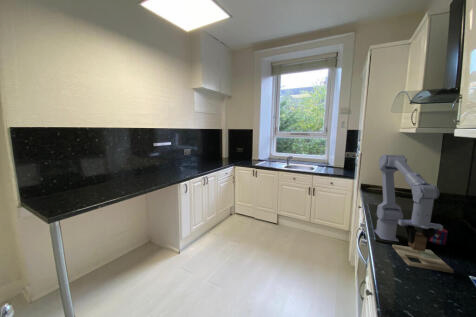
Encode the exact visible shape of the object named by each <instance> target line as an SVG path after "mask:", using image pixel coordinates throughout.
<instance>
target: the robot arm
mask: <svg viewBox="0 0 476 317" xmlns="http://www.w3.org/2000/svg"><path fill="white" fill-rule="evenodd" d="M378 164H379V165H378V167H379V171H380V172H381V184H382V186H381V187H382V202H381V203H380V204H378V205H377V209H376V217H377V218H378V219H377V221H376V228H375V229H374V230H373V231H374V232H375V234H376V235H377V236H378V237H379V238H380V239H381V240H383V241H384V240H385V241H392V242H400V241H399V239H398V238H397V237H396V236H397V229H398V228H397V227H398V225H399V226H401V227H402V226H403V227H404V230H405V232H406V234H407V239H408V242H410V243H413V242H414V236H415V234H416V233H418V232H417V230H416V229H415V228H421V234H423V235H424V236H425V237H426V238H427V242H426V245H427V244H428V242H430V241H429V240H430V238H431V237H432V236H434V235H435V234H436V231H435V230H434V229H437V230H440V231H442V230H443V229H444V226H443V225H442V224H440V223H433V222H431V218H432V212H433V208H434V207H433V206H434V201H435V200H437V199H438V198H439V197H440V190H439V188H438V187H437V185H434V184H431V183H428V182H427V181H426V179H425V178H424V177H423V176H422V175H421V174H420V173H419V172H417V171H413V169H412V168H411V167H410V166H409V164H408V158H407V157H406V156H405V155H403V154H384V153H383V154H382V155H381V156H379V159H378ZM398 171H399V172H400V173H401V174H402V175H403V176H404V181H405V182H406V183H407V184H408V186H409V187H410V188H411V195H412V201H413V204H412V205H413V206H412V213H411V219H403V218H404V215H403V214H404V213H403V212H402V208H401V206H400V205H398V204H397V203H396V191H395V176H394V174H395V172H398Z"/></svg>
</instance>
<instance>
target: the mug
mask: <svg viewBox="0 0 476 317" xmlns="http://www.w3.org/2000/svg"><path fill="white" fill-rule="evenodd" d="M434 230H435V231H436V234H435V235H434V236H432V237H431V238H430V240H429V241H428V242H430V243H433V244H436V245H440V246H445V245H446V244H447V240H448V233H449V232H448V230H447V229H445V228H443V230H442V231H440V230H437V229H434Z"/></svg>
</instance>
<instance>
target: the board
mask: <svg viewBox="0 0 476 317" xmlns="http://www.w3.org/2000/svg"><path fill="white" fill-rule="evenodd" d="M391 248H393V250H394V251H395V252H396V253H397V254H398V255H399V257H400V258H401V259H402V260H403V262H405V263H406V265H408V266H410V267H415V268H421V269H427V270H431V271H432V270H433V271H439V272H444V273H449V274H450V273H451V274H453V273H454V269H453V268H452V267H451V266H449V265H448V264H447V263H446V262H445V261H443V260H442V259H441V257H438V255H436V254H435V253H434V252H433V251H432V250H431V249H426V248H425V251H418V250H413V249H412V248H411V247H410V246H406V245H405V246H404V245H397V244H392V246H391ZM410 259H417V260H418V261H419V262H418V261H411V260H410Z"/></svg>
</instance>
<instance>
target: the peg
mask: <svg viewBox="0 0 476 317" xmlns="http://www.w3.org/2000/svg"><path fill="white" fill-rule="evenodd" d="M426 242H427V238H426V237H425V236H424V235H423V234H422V232H416V234H415V236H414V242H413V243H410V242H409V241H408V242H407V243H408V244H407V245H408V247H411V248H412V249H413V250H418V251H425V249H426V247H427V244H426ZM427 243H428V242H427Z"/></svg>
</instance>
